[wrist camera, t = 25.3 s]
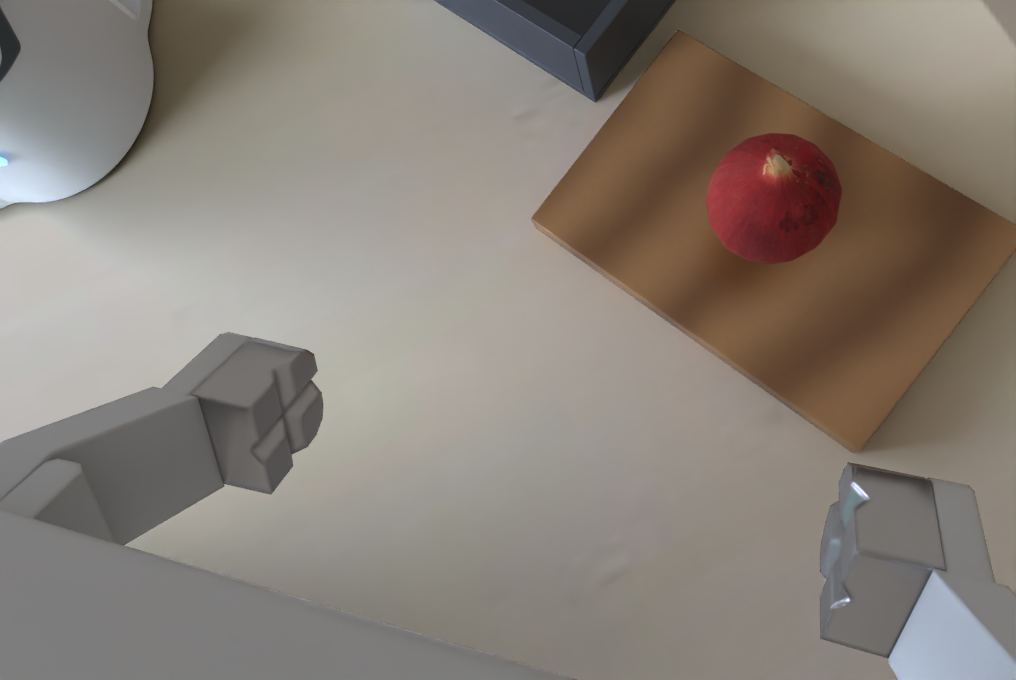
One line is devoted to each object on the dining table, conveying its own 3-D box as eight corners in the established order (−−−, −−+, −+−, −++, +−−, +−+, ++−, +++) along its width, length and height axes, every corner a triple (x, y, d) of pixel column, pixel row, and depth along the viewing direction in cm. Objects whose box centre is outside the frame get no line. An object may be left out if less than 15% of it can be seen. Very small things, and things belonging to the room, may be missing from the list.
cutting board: (535, 227, 43) (530, 218, 42) (678, 43, 44) (678, 28, 42) (853, 453, 38) (859, 452, 36) (1016, 241, 38) (1029, 232, 37)
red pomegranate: (834, 179, 39) (871, 103, 31) (815, 290, 38) (848, 240, 30) (715, 164, 40) (723, 88, 33) (694, 271, 40) (697, 219, 32)
